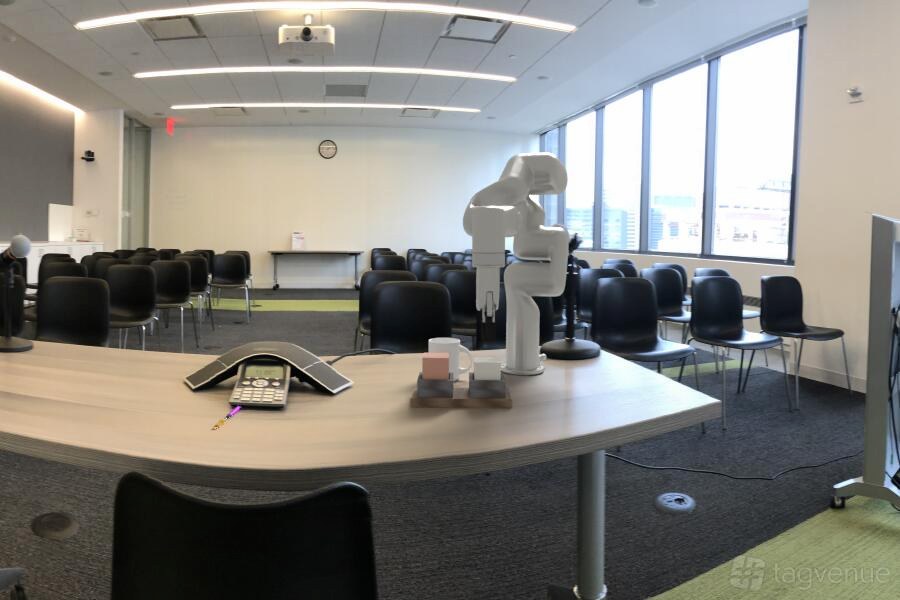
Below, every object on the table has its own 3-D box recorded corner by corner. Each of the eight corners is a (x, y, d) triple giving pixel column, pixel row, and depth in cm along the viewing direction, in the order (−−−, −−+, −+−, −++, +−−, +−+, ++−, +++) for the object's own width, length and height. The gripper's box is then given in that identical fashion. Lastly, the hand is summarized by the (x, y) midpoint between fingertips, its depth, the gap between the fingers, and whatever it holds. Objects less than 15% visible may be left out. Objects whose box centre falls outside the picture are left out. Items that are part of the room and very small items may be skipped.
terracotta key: (448, 377, 137) (448, 352, 136) (448, 383, 131) (448, 358, 130) (423, 377, 137) (423, 352, 136) (422, 383, 131) (422, 357, 131)
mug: (470, 383, 151) (470, 343, 150) (425, 381, 153) (425, 342, 152) (473, 376, 160) (474, 338, 159) (431, 374, 161) (431, 337, 160)
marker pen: (239, 406, 130) (211, 430, 114) (240, 402, 130) (212, 425, 114) (250, 409, 130) (224, 434, 114) (251, 404, 130) (225, 428, 114)
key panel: (508, 395, 139) (508, 371, 139) (511, 407, 129) (512, 382, 129) (414, 395, 140) (414, 371, 139) (410, 406, 130) (410, 381, 129)
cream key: (498, 381, 137) (499, 357, 136) (500, 388, 131) (500, 362, 130) (473, 381, 137) (474, 357, 136) (474, 388, 131) (474, 362, 130)
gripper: (471, 258, 139) (471, 332, 141) (473, 262, 124) (473, 345, 126) (502, 258, 138) (502, 332, 141) (507, 262, 124) (507, 345, 126)
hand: (488, 338), depth 134 cm, fingers closed
